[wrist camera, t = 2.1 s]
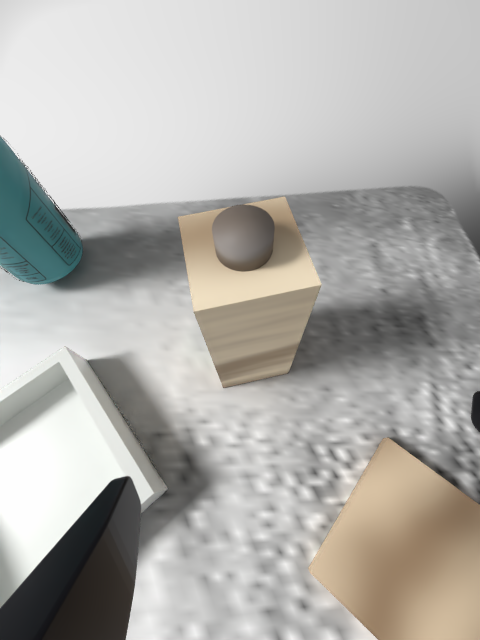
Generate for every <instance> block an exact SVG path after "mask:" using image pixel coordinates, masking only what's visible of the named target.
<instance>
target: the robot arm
mask: <svg viewBox="0 0 480 640" xmlns="http://www.w3.org/2000/svg"><path fill="white" fill-rule="evenodd" d="M471 420H472V423H473V425H474V426H475V428H476V429H477V430H478V431H479V432H480V391H477V392H475V393H474V395H473V400H472V411H471ZM140 520H141V501H140V498H139V495H138V493H137V490H136V488H135V485H134V483H133V480H132V478H131V477H130V476H124V477H120V478H116V479H113V480H111V481H110V482H109V483H108V485H107V486H106V487H105V488H104V489H103V490H102V492H101V493H100V494H99V495H98V496H97V497H96V498H95V500H94V501H93V502H92V503H91V504H90V505H89V506H88V508H87V509H86V510H85V511H84V512H83V513H82V515H81V516H80V517H79V518H78V519H77V520H76V521H75V523H74V524H73V525H72V526H71V527H70V528H69V529H68V531H67V532H66V533H65V534H64V535H63V536H62V538H61V539H60V540H59V541H58V542H57V543H56V544H55V546H54V547H53V548H52V549H51V550H50V551H49V552H48V554H47V555H46V556H45V557H44V558H43V559H42V560H41V562H40V563H39V564H38V565H37V566H36V567H35V569H34V570H33V571H32V572H31V573H30V574H29V575H28V577H27V578H26V579H25V580H24V581H23V582H22V583H21V585H20V586H19V587H18V588H17V589H16V590H15V592H14V593H13V594H12V595H11V596H10V597H9V598H8V600H7V601H6V602H5V603H4V604H3V605H2V606H1V608H0V640H126V635H127V629H128V623H129V617H130V612H131V606H132V600H133V594H134V587H135V579H136V569H137V556H138V544H139V532H140Z"/></svg>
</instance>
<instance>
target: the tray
mask: <svg viewBox="0 0 480 640" xmlns="http://www.w3.org/2000/svg"><path fill="white" fill-rule="evenodd" d="M124 476H130V477H131V478H132V480H133V483H134V485H135V488H136V490H137V493H138V495H139V498H140V501H141V513H142V512H143V511H145V510H146V509H147V508H148V507H149V506H150V505H151V504H152V503H153V502H155V501H156V500H157V499H158V498H159V497H160V496H161V495H162V494H163V493H164V492H166V491H167V490H168V488H167V486H166V485H165V483H164V482H163V480H162V478H161V477H160V475H159V474H158V472H157V471H156V469H155V467H154V466H153V464H152V463H151V461H150V459H149V458H148V456H147V455H146V453H145V452H144V450H143V448H142V447H141V445H140V444H139V442H138V440H137V439H136V437H135V436H134V434H133V432H132V431H131V429H130V428H129V426H128V425H127V423H126V421H125V420H124V418H123V417H122V415H121V413H120V412H119V410H118V409H117V407H116V406H115V404H114V402H113V401H112V399H111V398H110V396H109V394H108V393H107V391H106V390H105V388H104V387H103V385H102V383H101V382H100V380H99V379H98V377H97V375H96V374H95V372H94V371H93V369H92V367H91V366H90V364H89V363H88V361H87V360H86V359H84V358H83V357H81V356H80V355H78V354H76V353H75V352H73V351H72V350H70V349H69V348H67V347H65V346H64V347H63V348H61V349H60V350H58V351H57V352H55V353H54V354H52V355H51V356H49V357H48V358H46V359H45V360H43V361H42V362H40V363H39V364H37V365H36V366H35V367H33V368H32V369H30V370H29V371H27V372H26V373H24V374H23V375H21V376H20V377H18V378H17V379H15V380H14V381H12V382H11V383H9V384H8V385H6V386H5V387H3V388H2V389H0V608H1V606H2V605H3V604H4V603H5V602H6V601H7V600H8V598H9V597H10V596H11V595H12V594H13V593H14V592H15V590H16V589H17V588H18V587H19V586H20V585H21V583H22V582H23V581H24V580H25V579H26V578H27V577H28V575H29V574H30V573H31V572H32V571H33V570H34V569H35V567H36V566H37V565H38V564H39V563H40V562H41V560H42V559H43V558H44V557H45V556H46V555H47V554H48V552H49V551H50V550H51V549H52V548H53V547H54V546H55V544H56V543H57V542H58V541H59V540H60V539H61V538H62V536H63V535H64V534H65V533H66V532H67V531H68V529H69V528H70V527H71V526H72V525H73V524H74V523H75V521H76V520H77V519H78V518H79V517H80V516H81V515H82V513H83V512H84V511H85V510H86V509H87V508H88V506H89V505H90V504H91V503H92V502H93V501H94V500H95V498H96V497H97V496H98V495H99V494H100V493H101V492H102V490H103V489H104V488H105V487H106V486H107V485H108V483H109V482H110V481H111V480H113V479H116V478H120V477H124Z"/></svg>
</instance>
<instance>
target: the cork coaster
mask: <svg viewBox="0 0 480 640" xmlns="http://www.w3.org/2000/svg"><path fill="white" fill-rule="evenodd" d="M308 569H309V571H310V573H311V574H312V575H313V576H314V577H315V578H316V579H317V580H318V581H319V582H320V583H321V584H322V585H323V586H324V587H325V588H326V589H327V590H328V591H329V592H330V593H331V594H332V595H333V596H334V597H335V598H336V599H337V600H338V601H339V602H341V603H342V604H343V605H344V606H345V607H346V608H347V609H348V610H349V611H350V612H351V613H352V614H353V615H354V616H355V617H356V618H357V619H358V620H359V621H360V622H361V623H362V624H363V625H364V626H365V627H366V628H367V629H368V630H369V631H370V632H371V633H372V634H373V635H374V636H375V637H376V638H377V639H378V640H480V505H479V504H478V503H476V502H475V501H474V500H472V499H471V498H470V497H468V496H467V495H466V494H464V493H463V492H462V491H460V490H459V489H457V488H456V487H455V486H453V485H452V484H451V483H449V482H448V481H447V480H445V479H444V478H442V477H441V476H440V475H438V474H437V473H436V472H434V471H433V470H432V469H430V468H429V467H428V466H426V465H425V464H423V463H422V462H421V461H419V460H418V459H417V458H415V457H414V456H413V455H411V454H410V453H408V452H407V451H406V450H404V449H403V448H402V447H400V446H399V445H398V444H396V443H395V442H393V441H392V440H391V439H389V438H383V440H382V441H381V443H380V445H379V447H378V448H377V450H376V452H375V453H374V455H373V457H372V459H371V460H370V462H369V464H368V466H367V467H366V469H365V471H364V473H363V474H362V476H361V478H360V480H359V481H358V483H357V485H356V486H355V488H354V490H353V492H352V493H351V495H350V497H349V499H348V500H347V502H346V504H345V506H344V507H343V509H342V511H341V513H340V514H339V516H338V518H337V519H336V521H335V523H334V525H333V526H332V528H331V530H330V532H329V533H328V535H327V537H326V539H325V540H324V542H323V544H322V545H321V547H320V549H319V551H318V552H317V554H316V556H315V558H314V559H313V561H312V563H311V565H310V566H309V568H308Z"/></svg>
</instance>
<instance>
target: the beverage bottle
mask: <svg viewBox="0 0 480 640" xmlns="http://www.w3.org/2000/svg"><path fill="white" fill-rule="evenodd" d="M31 174H32V173H31ZM31 174H30V173H29V171H28V170H27V168H25V165H24V164H23V163H22V162H21V161H20V160H19V159H18V157H17V156H16V155H15V153H14V152H13V151H12V150H11V148H10V147H9V146H8V145H7V144H6V142H5V141H4V140H3V139H2V138H1V137H0V265H1V266H2V267H4V268H5V269H6V270H8V271H9V272H10V273H12V274H13V275H14V276H15V277H17V278H18V279H20V280H22V281H23V282H27V283H31V284H47V283H51V282H54V281H57V280H59V279H61V278H63V277H64V276H66V275H67V274H69V273H70V272H71V271H72V270H73V269H74V268H75V267H76V266H77V264H78V263H79V261H80V259H81V257H82V253H83V246H82V241H81V240H80V238H79V235H80V234H79V235H78V232H77V233H76V232H75V230H76V229H73V228H72V226H73V225H72V226H71V225H70V224H69V223H68V221H69V220H68V219H66V218H67V217H66V216H65V215H64V216H65V217H66V218H65V217H64V216H63V215H62V214H61V212H62V211H61V210H60V211H61V212H60V211H59V210H58V208H59V207H58V208H57V207H56V205H54V204H56V203H55V202H54V204H53V202H52V201H51V200H50V198H51V197H50V198H49V197H48V195H46V193H45V192H44V191H45V190H44V191H43V189H42V187H40V186H39V183H37V182H36V180H35V179H36V178H35V179H34V178H33V176H32V175H31ZM53 201H54V200H53ZM62 213H63V212H62ZM63 214H64V213H63ZM67 220H68V221H67ZM69 222H70V221H69ZM73 227H74V226H73ZM76 231H77V230H76ZM0 268H1V267H0ZM5 269H4V270H5ZM6 270H5V271H6ZM6 272H7V271H6ZM9 272H8V273H9ZM11 276H12V275H11ZM13 278H14V277H13ZM20 280H19V281H20Z"/></svg>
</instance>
